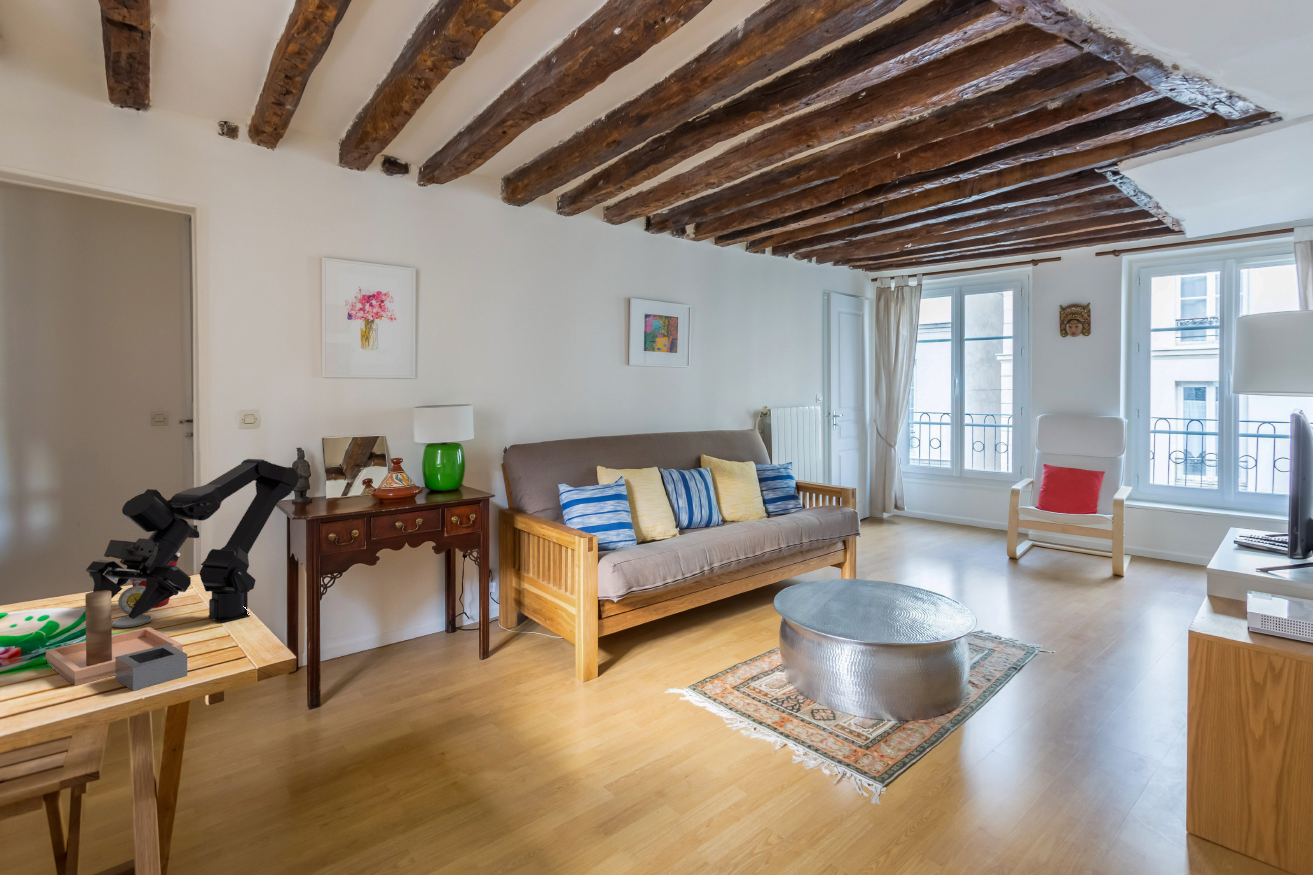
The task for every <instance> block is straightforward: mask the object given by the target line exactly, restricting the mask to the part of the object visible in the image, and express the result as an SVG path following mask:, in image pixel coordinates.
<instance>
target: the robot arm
mask: <svg viewBox="0 0 1313 875" xmlns="http://www.w3.org/2000/svg"><path fill="white" fill-rule="evenodd" d="M299 476H300V475H299V474H298V472H297V470H296V469H295V468H293V467H291V466H283V465H278V464H275V463H271V461H270V462H269V461H268V460H265V459H260V458H247V459H244V460H242V462H240V464H238V465H236V466H235V467H233V468H231V469H230V470H228V471H227V472H224V473H223V474H222V475H220V476H218V477H216V478H215V479H213V480H211V481H209V482H208V483H206V484H204V485H203V484H202V485H201V486H197V487H190V488H188V489H185V490H182V491H180V492H176V493H174V495H173V496H172V497H171V498H170V499H166V498H165V497H164V496H163V495H162V494H161V492H159V490H158V489H151V488H147V489H146V490H145V491H144V493H140V494H138V495H135V496H134V497H132V498H131V499H128V500H127V501H126V502H125V503H124V504H123V506H122V508H121V512H122V514H123V515H124V516H125V517H126V518H128V520H130V521H131V522H132V523H134V524H135V525H136V526H137V527H138V528H139V529H141V530H142V531H144V532H146V533H151V532H152V533H151V534H150V535H149V536H148V538H138V539H137V540H136V541H129V540H128V541H127V540H117V539H110V540H109V542H108V544H107V547H106V549H105V552H104V555H103V557H104V558H113V559H114V558H115V559H120V560H119V563H120V564H122V565H123V566H126V568H124V567H123V566H121V565H120V564H118V563H117V562H115V561H114V560H107V559H106V560H105V559H97V560H93V561H92V562H91V563H90V564H89V566H88V567H87V568H86V569H85V572H87V573H88V574H89V577H90V578H91V579H92V580H93V584H94V585H93V590H92V592H95V591H104V590H108V591H111V600H112V599H113V598H114V597H115V596H117V594H118V593H119V592H121V591H122V590H123V587H122V586H124V585H126V584H127V582H128V581H129V580H130V579H132V580H143V581H146V588H145V590H144V592H143V593H142V595H141V596H140V598H139V599H138V601H137V602H136V604H135V605H134V604H133V608H132V610H131V612H130V614H129V615H128V616H129V617H130V618H131V619H135V618H136V617H138V616H139V615H141V614H142V613H144V612H146V611H147V610H149V609H150V608H152V607H154V606H155V605H157V604H159V603H160V602H162V601H164V600H166V599H168V598H171V597H173V596H178V595H179V593H186V591H187V590H188V589H189V587H190V586H191V584H192V582H191V580H192V579H191V576H190V575H189V574H187V573H186V572H185V571H183V570H182V569H181V568H179V567H178V566H169V565H168V564H169V563H170V561H174V562H176V561H177V560H179V559H180V556H179V557H178V556H177V555H176V553H179V550H180V549H181V548H182V546H183V545H184V543H186V540H187V539H188V538H190V539H199V538H200V532H199V530H198V525H196V524H191V523H189V522H188V521H187V520H189V521H203V522H204V521H207V520H208V519H210V518H211V517H212V516H213V515H214V514H215V513H216V512H218V510H220V508H221V505H222V503H223V502H224V500H226V499H227V498H228V497H230V496H232V495H234V494H235V493H236V492H238V491H240V490H241V489H242V488H244V487H246V486H248V485H249V484H250V483H252V482H253V481H254V482H255V485H254V486H255V492H256V493H255V496H254V497H253V499H252V501H251V502H250V505H249V506H248V508H247V509H246V511H245V513H244V514H243V515H242V518H241V520H240V521H239V522H238V524H237V525H236V527H235V530H234V531H233V533H232V534H231V536H230V538H228V541H227V543H226V544H225V546H223V547H222V548H220V549H215V548H212V549H211V550H209V552H208V554H207V556H206V558H205V559H204V561H203V562H201V563H200V565H201V566H202V567H201V568H200V570H199V576H200V581H201V583H202V585H203V587H204V591H205V592H207V593H208V592H210V593H211V598H210V599H209V600H208V601H209V602H208V603H209V604H208V606H209V608H208V618H209V619H212V620H213V621H216V622H218V623H225V622H230V621H233V620H237V618H239V619H242V617H243V618H247V617H249V616H248V614H249V613H250V612H249V611H247V610H246V609H248V610H249V608H248V607H249V606H248V602H249V600H248V596H249V594H248V593H250V591H251V590H254V588H255V584H256V579H255V578H254V577H253V576H252V575H251V574H250V573H249V572H248V569H249V567H250V561H249V553H250V551H251V550H252V548H253V546H254V544H255V542H256V541H257V539H258V537H259V535H260V534H261V532H262V530H263V528H264V527H265V525H266V524H267V522H268V520H269V518H270V517H271V515H272V513H273V511H274V509H275V507H276V505H278V503H279V502H280V501H282V500H284V499H285V498H287V497H288V496H289V495H290V494H291V493H292V492H293V490H294V489H295V488H296V487H297V486H298V482H299V479H300V478H299ZM134 574H135V575H134ZM243 606H244V607H246V609H245V608H244V607H243ZM152 609H153V608H152ZM149 611H150V610H149ZM247 612H249V613H248V614H247ZM246 616H247V617H246Z"/></svg>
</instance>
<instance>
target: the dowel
mask: <svg viewBox="0 0 1313 875" xmlns="http://www.w3.org/2000/svg"><path fill="white" fill-rule="evenodd" d="M84 596H85V641H86V665H87V666H92V665H96V664H100V663H104V662H108V661H112V635H113V634H112V633H113V628H112V627H113V621H112V616H113V615H112V612H113V610H112V599H111V591H108V590H104V591H95V592H93V591H91V592H87V593H85V595H84Z"/></svg>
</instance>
